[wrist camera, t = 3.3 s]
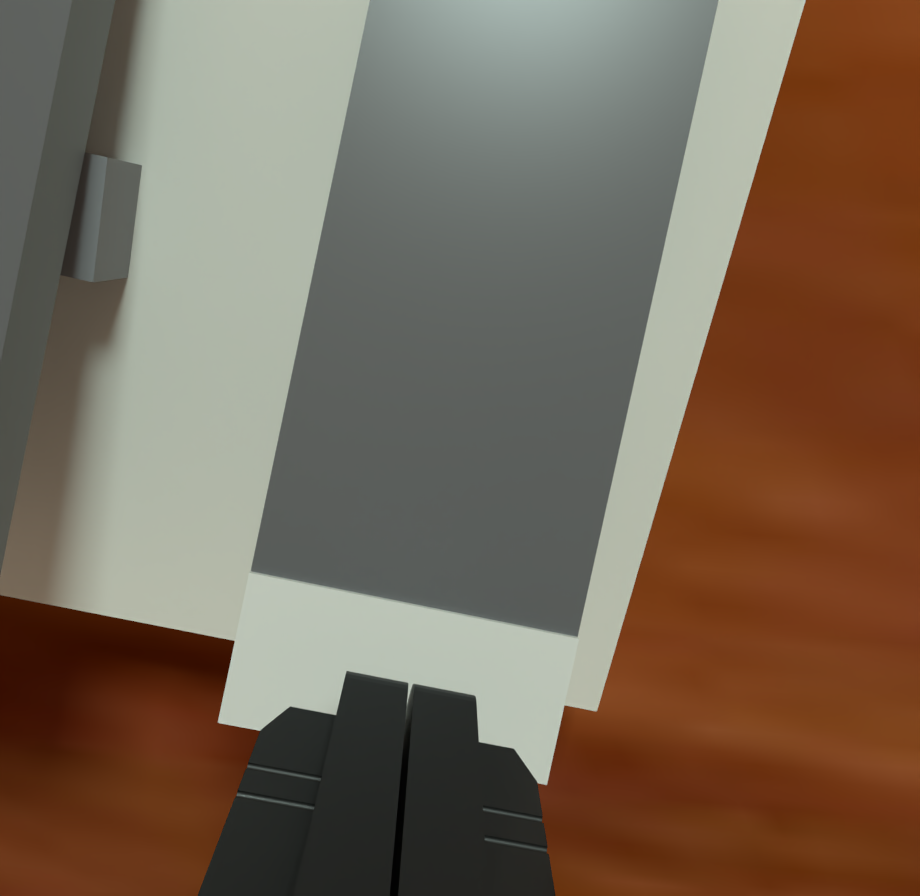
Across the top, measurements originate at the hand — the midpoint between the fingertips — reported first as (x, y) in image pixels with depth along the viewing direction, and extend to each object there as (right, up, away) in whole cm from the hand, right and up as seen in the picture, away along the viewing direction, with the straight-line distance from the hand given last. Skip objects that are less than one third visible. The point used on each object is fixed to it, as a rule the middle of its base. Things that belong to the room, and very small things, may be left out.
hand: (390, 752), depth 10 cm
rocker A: (+1, +5, +2) cm, 6 cm away
